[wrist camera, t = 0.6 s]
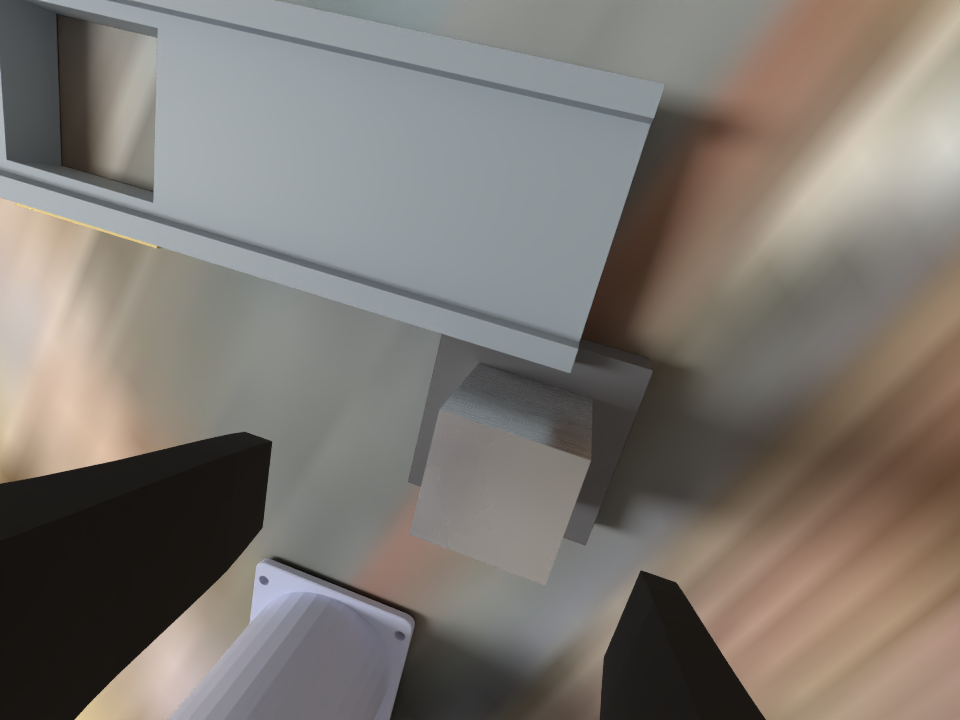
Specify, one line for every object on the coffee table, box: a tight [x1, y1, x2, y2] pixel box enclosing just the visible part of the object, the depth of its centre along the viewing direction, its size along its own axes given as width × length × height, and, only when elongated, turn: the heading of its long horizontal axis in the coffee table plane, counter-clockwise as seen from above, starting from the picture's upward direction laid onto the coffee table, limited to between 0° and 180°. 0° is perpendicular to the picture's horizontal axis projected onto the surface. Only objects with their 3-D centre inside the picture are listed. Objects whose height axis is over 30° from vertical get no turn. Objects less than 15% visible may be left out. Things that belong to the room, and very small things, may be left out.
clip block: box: [409, 363, 593, 585], centre depth 15 cm, size 4×4×4 cm
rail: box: [0, 0, 665, 373], centre depth 17 cm, size 9×24×3 cm, turn 76°
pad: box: [408, 334, 653, 546], centre depth 18 cm, size 7×7×2 cm
